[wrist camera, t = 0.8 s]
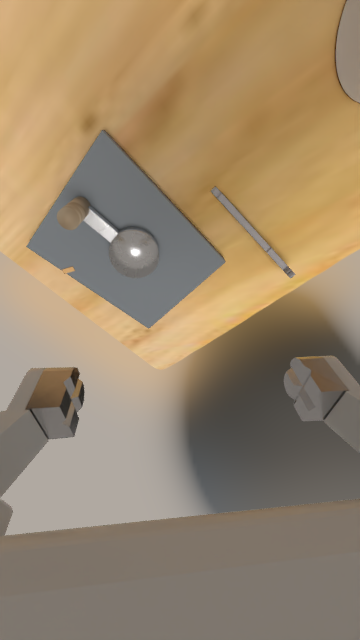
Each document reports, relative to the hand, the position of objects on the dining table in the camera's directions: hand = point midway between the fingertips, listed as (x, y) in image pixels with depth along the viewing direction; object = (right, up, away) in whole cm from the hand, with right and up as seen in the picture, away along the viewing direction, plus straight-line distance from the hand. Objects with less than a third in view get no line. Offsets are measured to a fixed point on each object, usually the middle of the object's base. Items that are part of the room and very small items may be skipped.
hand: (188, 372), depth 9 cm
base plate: (-9, +14, +33) cm, 37 cm away
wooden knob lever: (-10, +15, +29) cm, 34 cm away
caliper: (+12, +18, +33) cm, 40 cm away
